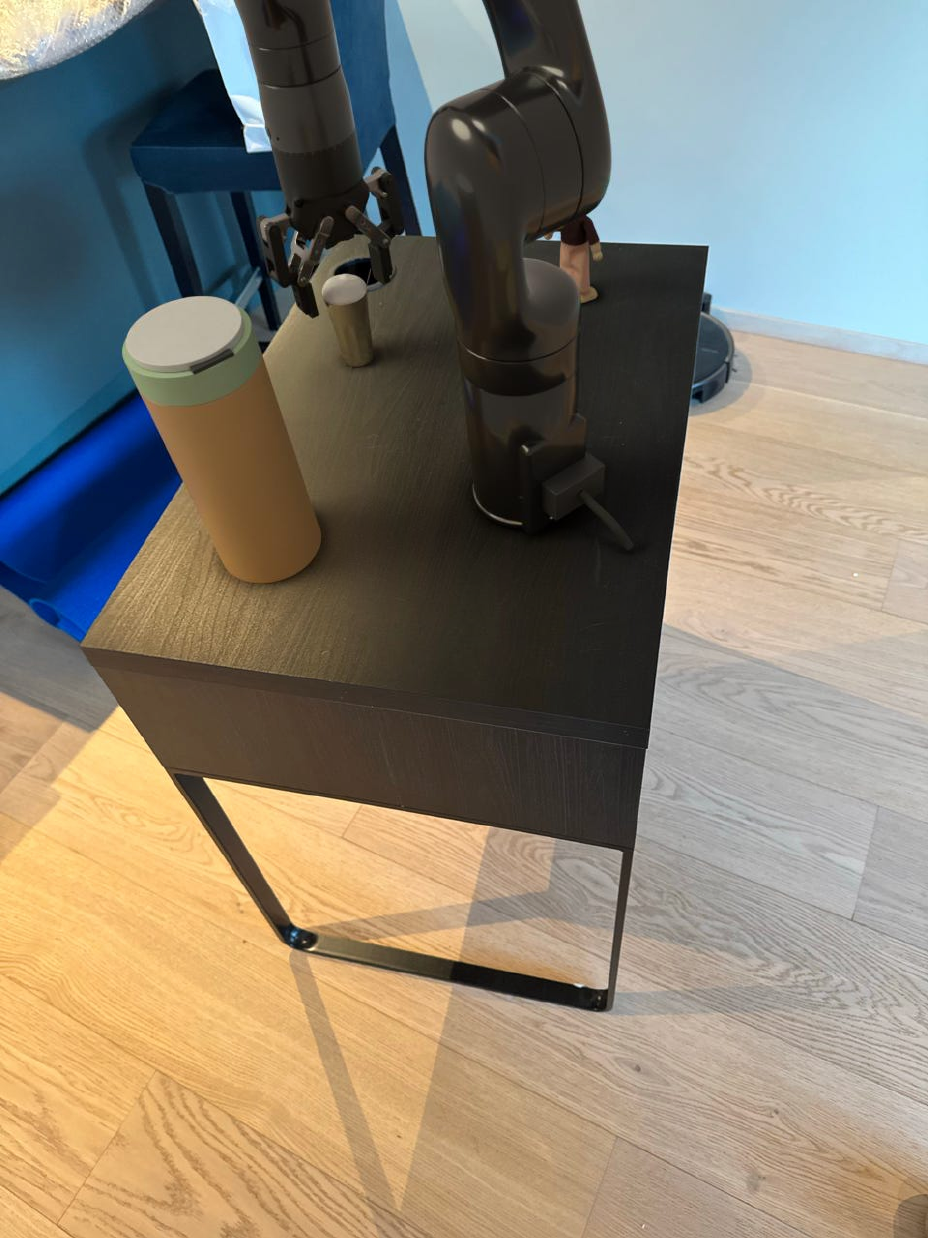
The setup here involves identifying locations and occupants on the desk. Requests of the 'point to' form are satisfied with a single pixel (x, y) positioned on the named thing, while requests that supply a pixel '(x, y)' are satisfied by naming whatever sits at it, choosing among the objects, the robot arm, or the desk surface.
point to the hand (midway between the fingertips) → (347, 296)
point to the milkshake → (350, 317)
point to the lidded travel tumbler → (225, 434)
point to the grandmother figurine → (579, 253)
